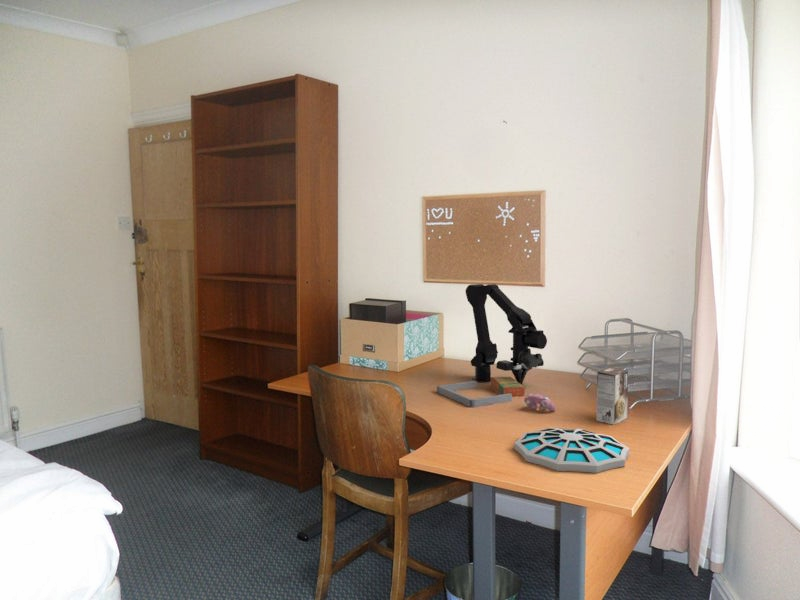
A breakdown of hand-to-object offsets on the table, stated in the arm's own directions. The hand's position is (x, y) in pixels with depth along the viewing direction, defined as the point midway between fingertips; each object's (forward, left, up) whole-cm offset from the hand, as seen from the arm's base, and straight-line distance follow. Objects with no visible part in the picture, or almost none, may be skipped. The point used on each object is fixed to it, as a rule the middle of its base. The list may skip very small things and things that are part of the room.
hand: (519, 385), depth 236 cm
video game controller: (+26, -12, -2) cm, 28 cm away
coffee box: (+45, +1, -2) cm, 45 cm away
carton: (0, -6, -2) cm, 6 cm away
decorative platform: (+61, -31, -2) cm, 68 cm away
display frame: (0, -21, -2) cm, 21 cm away
